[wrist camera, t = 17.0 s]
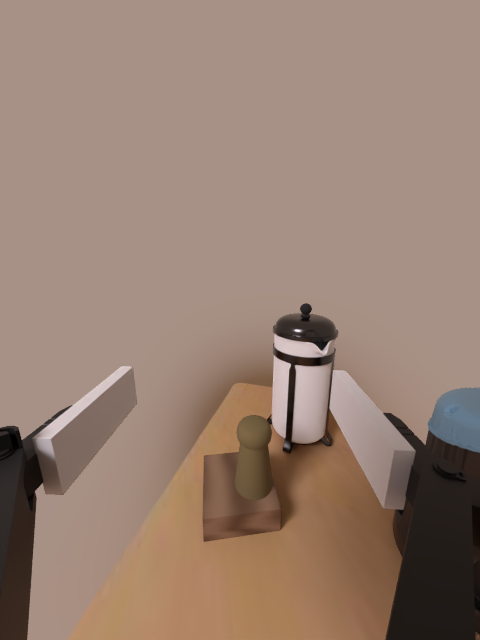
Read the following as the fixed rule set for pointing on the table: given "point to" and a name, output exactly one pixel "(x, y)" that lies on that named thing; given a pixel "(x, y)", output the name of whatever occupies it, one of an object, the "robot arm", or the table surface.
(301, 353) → the coffee press
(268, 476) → the olive pawn
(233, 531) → the walnut base
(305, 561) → the table surface
